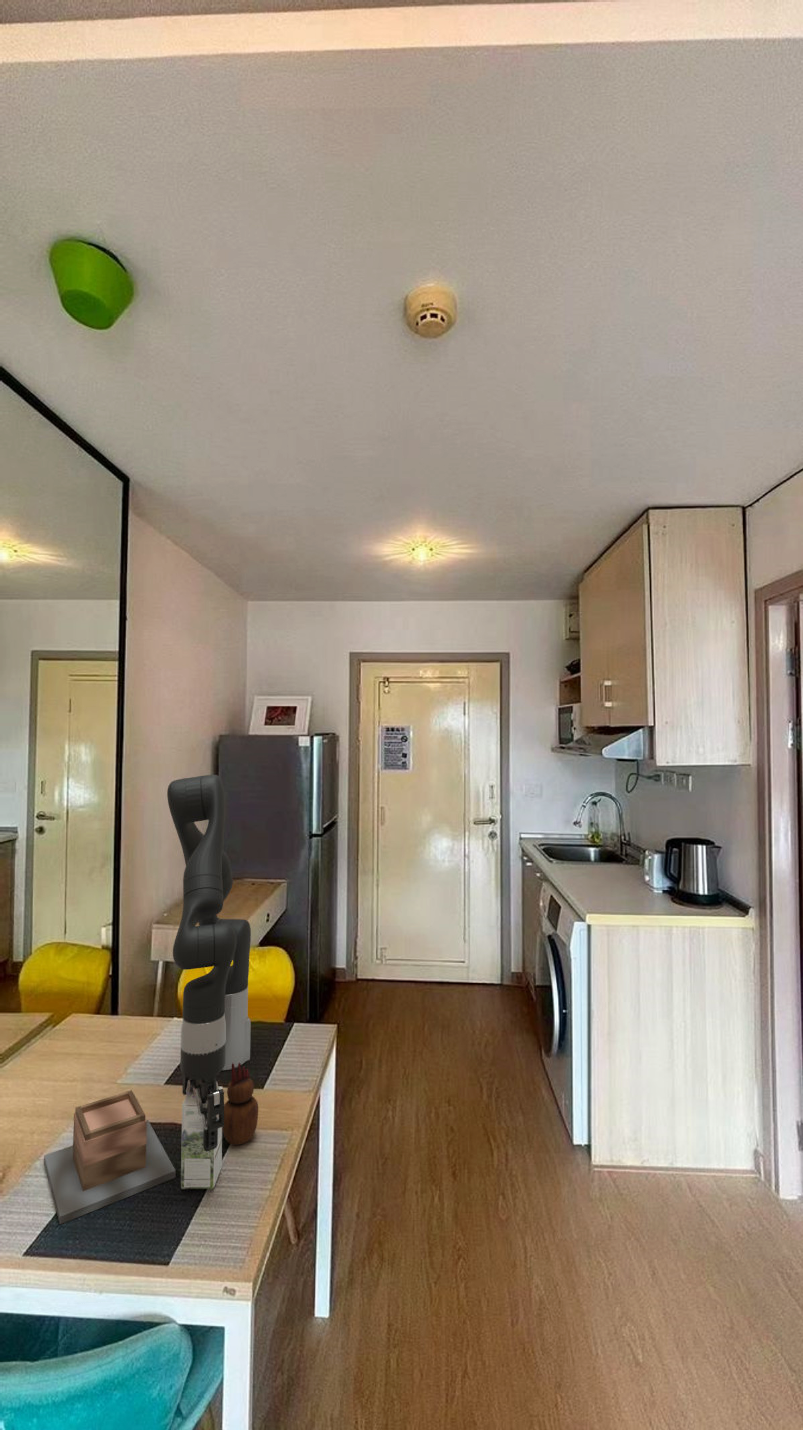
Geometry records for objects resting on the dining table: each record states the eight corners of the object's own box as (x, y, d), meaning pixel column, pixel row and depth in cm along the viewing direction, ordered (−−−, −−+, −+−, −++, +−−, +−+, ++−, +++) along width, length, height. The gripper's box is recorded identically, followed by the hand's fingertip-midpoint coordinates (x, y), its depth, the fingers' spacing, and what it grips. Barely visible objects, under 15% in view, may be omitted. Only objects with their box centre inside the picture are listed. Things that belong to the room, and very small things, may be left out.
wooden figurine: (224, 1153, 116) (226, 1071, 117) (218, 1136, 121) (220, 1057, 122) (261, 1143, 119) (262, 1063, 120) (253, 1126, 124) (254, 1049, 125)
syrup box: (222, 1166, 112) (223, 1084, 112) (213, 1191, 106) (215, 1103, 106) (190, 1167, 111) (191, 1084, 112) (179, 1191, 105) (181, 1104, 106)
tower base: (147, 1126, 124) (148, 1073, 124) (175, 1177, 110) (176, 1118, 110) (44, 1162, 113) (45, 1104, 114) (59, 1224, 99) (61, 1158, 99)
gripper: (240, 1051, 106) (238, 1150, 105) (210, 1020, 117) (208, 1108, 117) (195, 1065, 101) (193, 1168, 101) (169, 1031, 113) (167, 1123, 112)
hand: (201, 1136), depth 109 cm, fingers closed on syrup box, 8 cm apart
